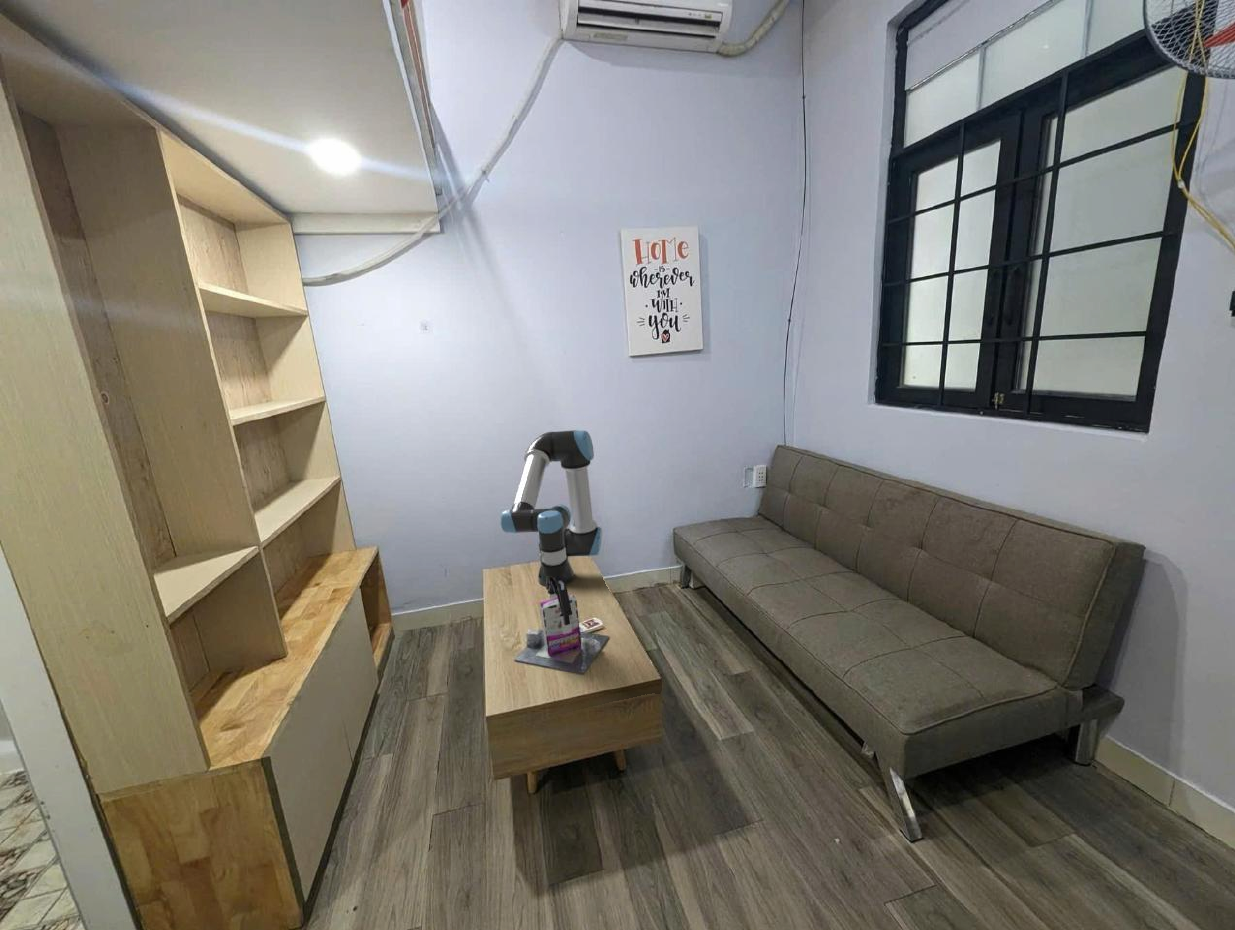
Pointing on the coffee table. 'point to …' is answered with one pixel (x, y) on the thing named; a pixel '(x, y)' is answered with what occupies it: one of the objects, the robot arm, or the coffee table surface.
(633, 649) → the coffee table surface
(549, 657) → the base
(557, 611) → the candy bar box
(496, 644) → the coffee table surface
